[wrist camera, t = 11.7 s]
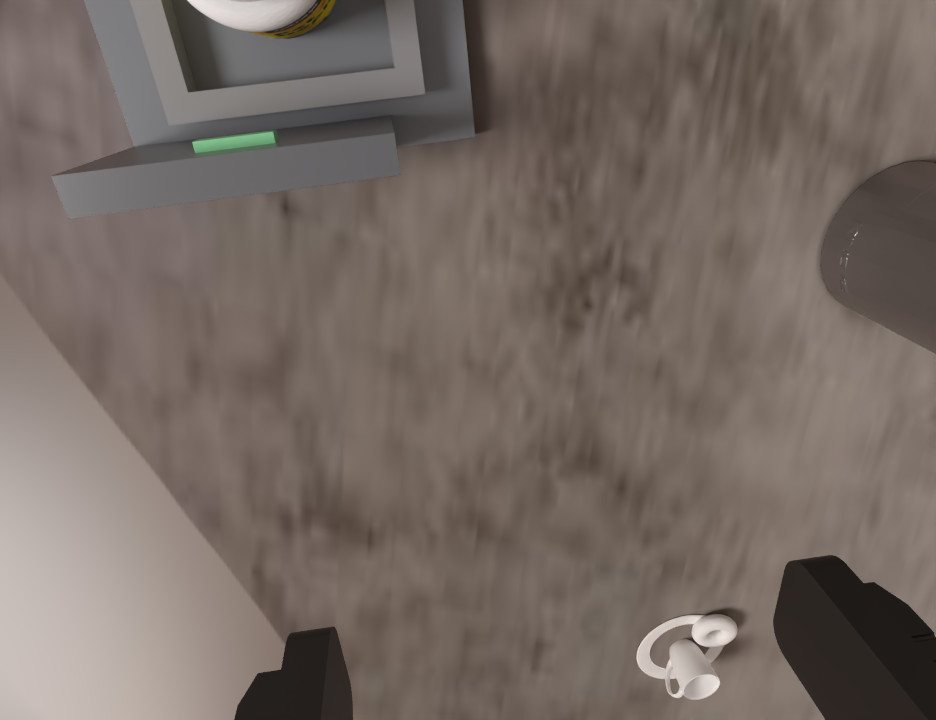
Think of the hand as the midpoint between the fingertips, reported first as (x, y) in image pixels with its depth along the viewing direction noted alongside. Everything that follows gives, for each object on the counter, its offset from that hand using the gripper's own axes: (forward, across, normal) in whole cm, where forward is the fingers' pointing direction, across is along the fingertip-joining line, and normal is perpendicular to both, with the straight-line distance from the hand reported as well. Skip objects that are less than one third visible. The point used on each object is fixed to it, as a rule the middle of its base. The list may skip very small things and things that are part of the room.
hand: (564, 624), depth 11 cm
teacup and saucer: (+26, -20, +39) cm, 51 cm away
